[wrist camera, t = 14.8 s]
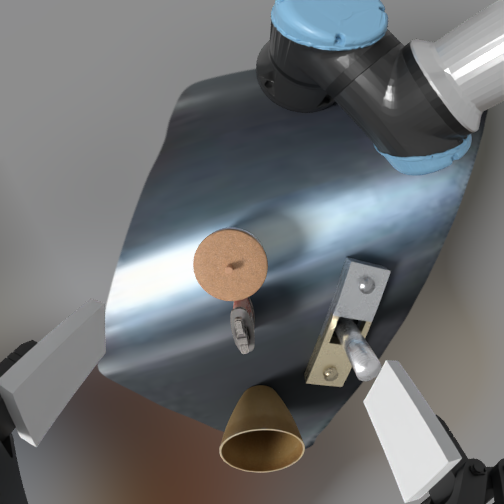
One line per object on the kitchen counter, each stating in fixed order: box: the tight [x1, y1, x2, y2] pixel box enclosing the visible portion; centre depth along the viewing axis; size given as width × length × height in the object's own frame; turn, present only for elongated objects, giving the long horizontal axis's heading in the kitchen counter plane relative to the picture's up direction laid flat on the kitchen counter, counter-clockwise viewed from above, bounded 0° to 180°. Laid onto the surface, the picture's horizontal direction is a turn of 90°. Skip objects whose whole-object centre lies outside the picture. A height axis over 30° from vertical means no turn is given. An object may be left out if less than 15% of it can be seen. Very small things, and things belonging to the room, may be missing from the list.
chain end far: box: [304, 313, 372, 387], centre depth 51 cm, size 16×8×4 cm, turn 167°
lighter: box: [231, 297, 255, 354], centre depth 46 cm, size 8×3×10 cm, turn 10°
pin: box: [334, 317, 381, 381], centre depth 44 cm, size 4×4×15 cm
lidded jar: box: [193, 227, 268, 301], centre depth 44 cm, size 11×11×9 cm
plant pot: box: [220, 385, 305, 472], centre depth 48 cm, size 15×15×16 cm
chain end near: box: [320, 257, 391, 338], centre depth 48 cm, size 16×8×4 cm, turn 167°
